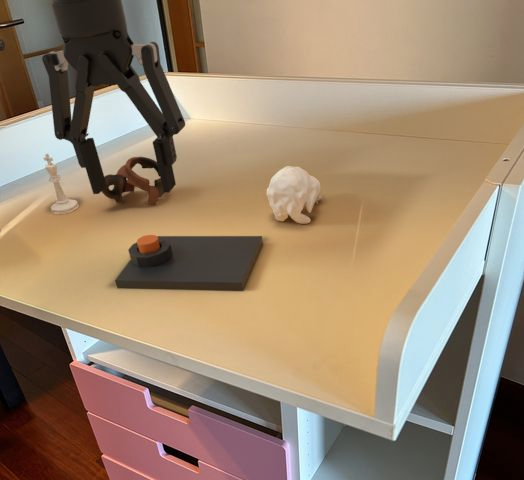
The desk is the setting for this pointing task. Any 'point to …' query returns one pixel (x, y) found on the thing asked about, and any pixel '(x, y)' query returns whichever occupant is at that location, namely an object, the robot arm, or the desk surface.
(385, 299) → the desk surface
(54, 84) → the robot arm
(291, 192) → the white animal figurine
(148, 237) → the button
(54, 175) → the chess piece
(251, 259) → the dark grey button base
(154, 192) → the brown curved loop
